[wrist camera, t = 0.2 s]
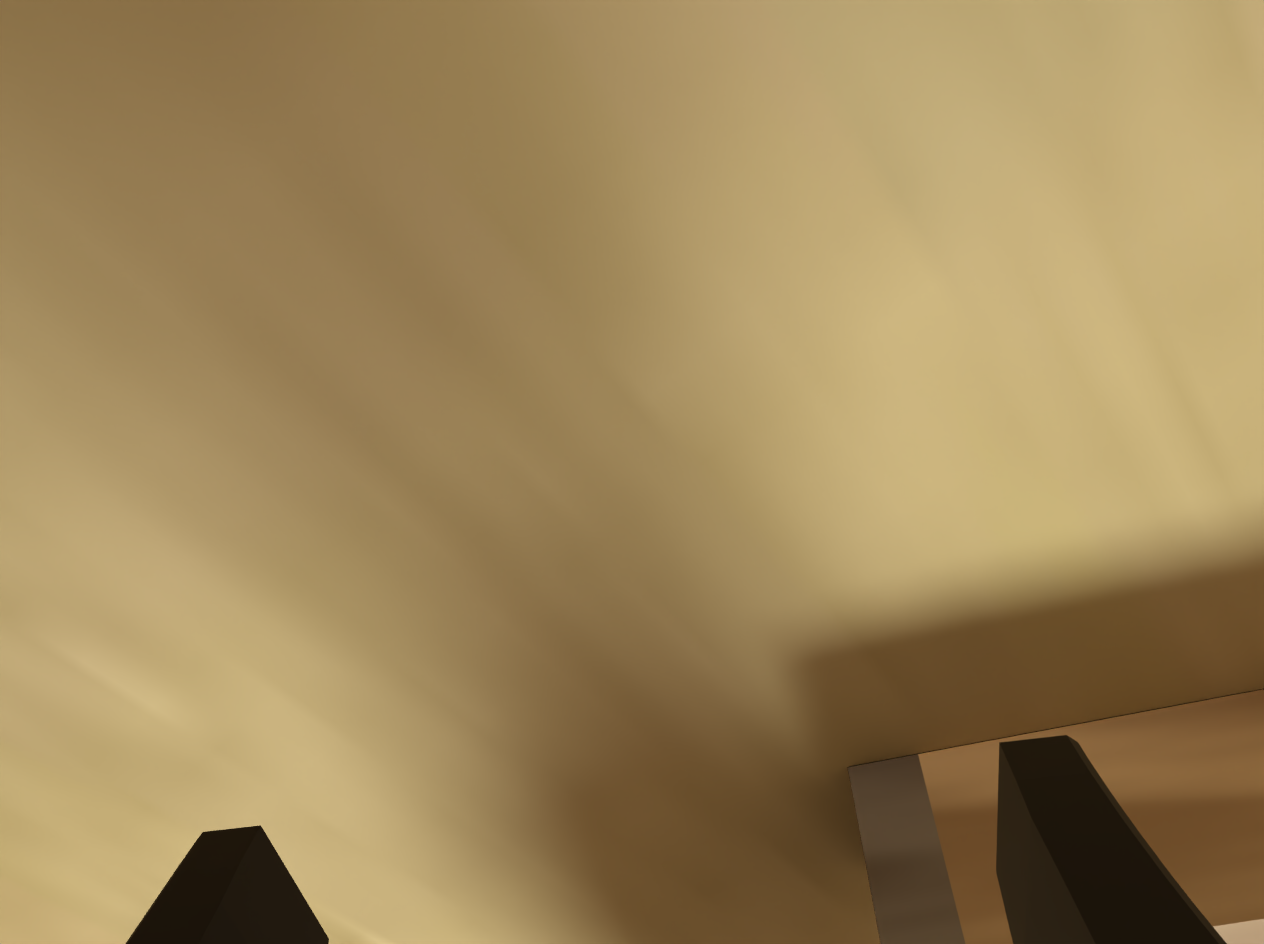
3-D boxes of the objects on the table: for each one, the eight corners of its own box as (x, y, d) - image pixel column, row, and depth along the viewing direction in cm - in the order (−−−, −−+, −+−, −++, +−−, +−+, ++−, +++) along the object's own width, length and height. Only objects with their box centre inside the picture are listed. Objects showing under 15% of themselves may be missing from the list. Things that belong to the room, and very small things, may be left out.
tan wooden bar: (1471, 764, 26) (1622, 973, 22) (876, 866, 29) (916, 1072, 25) (1497, 645, 24) (1670, 855, 20) (847, 767, 26) (886, 977, 22)
